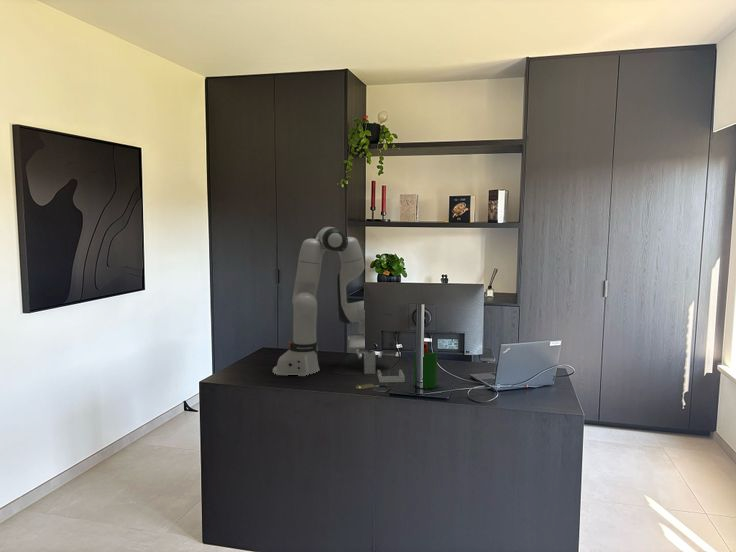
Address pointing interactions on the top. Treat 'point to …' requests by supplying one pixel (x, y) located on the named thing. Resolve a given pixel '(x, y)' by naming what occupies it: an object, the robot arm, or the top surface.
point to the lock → (369, 362)
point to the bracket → (391, 377)
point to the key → (364, 386)
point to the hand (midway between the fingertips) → (370, 357)
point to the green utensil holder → (428, 368)
